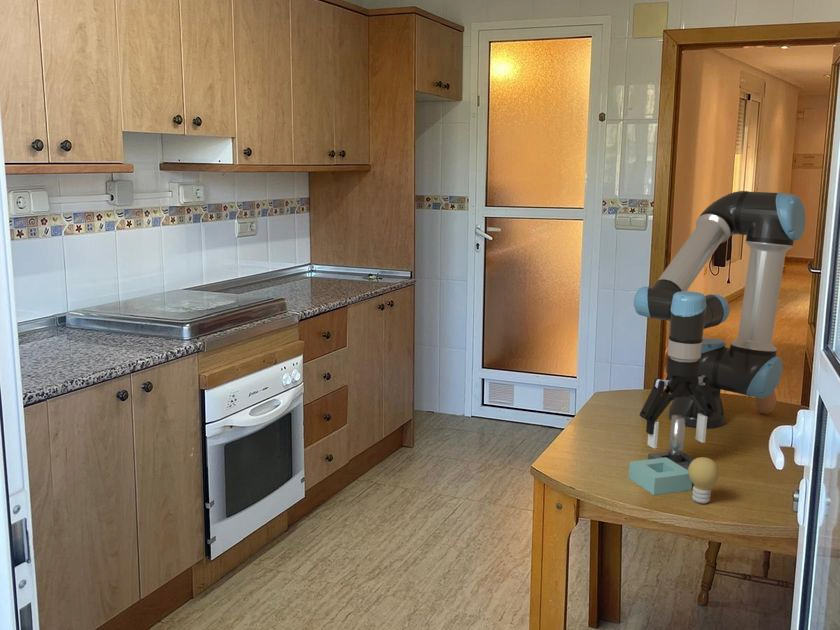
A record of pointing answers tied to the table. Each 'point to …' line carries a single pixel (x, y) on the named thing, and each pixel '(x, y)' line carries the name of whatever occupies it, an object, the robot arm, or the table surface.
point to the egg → (766, 403)
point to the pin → (676, 438)
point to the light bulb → (702, 478)
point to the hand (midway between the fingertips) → (676, 443)
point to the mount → (685, 458)
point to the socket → (660, 476)
